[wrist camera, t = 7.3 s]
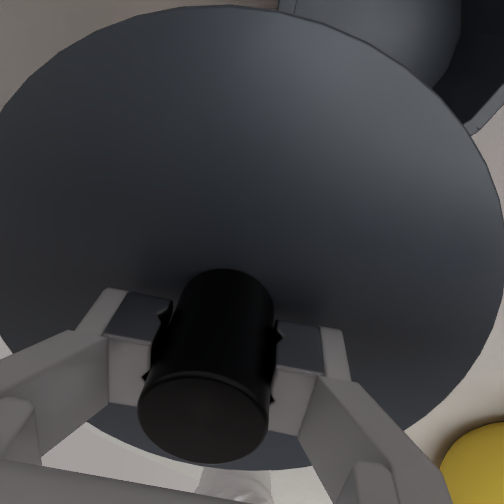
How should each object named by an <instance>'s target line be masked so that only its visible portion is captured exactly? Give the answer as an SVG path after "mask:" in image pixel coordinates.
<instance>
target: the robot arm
mask: <svg viewBox="0 0 504 504" xmlns="http://www.w3.org/2000/svg"><path fill="white" fill-rule="evenodd" d="M172 315H173V301H172V300H171V299H166V298H161V297H156V296H151V295H147V294H142V293H137V292H132V291H130V292H129V291H126V290H121V289H116V288H111V287H108V288H106V289H105V290H103V292H102V293H101V295H100V296H99V297H98V299H97V300H96V302H95V303H94V304H93V306H92V307H91V308H90V310H89V311H88V313H87V314H86V315H85V317H84V318H83V320H82V321H81V322H80V324H79V325H78V326H77V328H76V329H75V331H71V330H66V331H64V332H62V333H59V334H57V335H55V336H53V337H50V338H48V339H46V340H44V341H41V342H39V343H37V344H35V345H32V346H30V347H28V348H26V349H23V350H21V351H19V352H17V353H14V354H12V355H10V356H8V357H5V358H3V359H1V360H0V504H251V503H246V502H240V501H235V500H229V499H223V498H218V497H212V496H207V495H201V494H195V493H190V492H184V491H179V490H173V489H168V488H162V487H156V486H151V485H145V484H139V483H134V482H128V481H123V480H117V479H112V478H105V477H100V476H95V475H89V474H83V473H78V472H72V471H67V470H61V469H55V468H50V467H44V466H42V462H41V457H42V456H43V455H44V454H45V453H47V452H48V451H49V450H51V449H52V448H53V447H54V446H56V445H57V444H58V443H59V442H61V441H62V440H63V439H65V438H66V437H67V436H68V435H70V434H71V433H72V432H73V431H75V430H76V429H77V428H79V427H80V426H81V425H82V424H84V423H85V422H86V421H88V420H89V419H90V418H91V417H93V416H94V415H95V414H96V413H98V412H99V411H100V410H102V409H103V408H104V407H105V406H107V405H108V402H110V403H116V404H123V405H130V406H136V407H137V402H138V399H139V396H140V394H141V391H142V389H143V387H144V384H145V382H146V379H147V377H148V374H149V372H150V369H151V367H152V365H153V362H154V360H155V357H156V355H157V352H158V350H159V347H160V345H161V343H162V340H163V338H164V335H165V333H166V330H167V328H168V325H169V322H170V320H171V317H172ZM268 430H269V431H274V432H279V433H284V434H289V435H293V436H298V438H297V439H298V440H299V442H300V444H301V446H302V448H303V450H304V451H305V453H306V455H307V457H308V459H309V460H310V462H311V464H312V466H313V468H314V470H315V471H316V473H317V475H318V477H319V479H320V480H321V482H322V484H323V486H324V488H325V490H326V491H327V493H328V495H329V497H330V499H331V500H332V502H333V504H453V502H452V499H451V496H450V493H449V491H448V488H447V485H446V482H445V479H444V476H443V473H442V472H441V471H440V470H439V469H438V468H437V467H436V466H435V465H434V464H433V462H432V461H431V460H430V459H429V458H428V457H427V456H426V455H425V454H424V453H423V452H422V451H421V450H420V449H419V447H418V446H417V445H416V444H415V443H414V442H413V441H412V440H411V439H410V438H409V437H408V436H407V435H406V434H405V432H404V431H403V430H402V429H401V428H400V427H399V426H398V425H397V424H396V423H395V422H394V421H393V420H392V419H391V417H390V416H389V415H388V414H387V413H386V412H385V411H384V410H383V409H382V408H381V407H380V406H379V405H378V403H377V402H376V401H375V400H374V399H373V398H372V397H371V396H370V395H369V394H368V393H367V392H366V391H365V390H364V388H363V387H362V386H361V385H360V384H359V383H357V382H352V381H351V376H350V370H349V365H348V360H347V355H346V349H345V344H344V339H343V334H342V331H341V330H340V329H335V328H328V327H322V326H318V327H317V326H311V325H306V324H300V323H295V322H289V321H283V320H278V319H276V321H275V324H274V327H273V337H272V362H271V377H270V408H269V426H268Z"/></svg>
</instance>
